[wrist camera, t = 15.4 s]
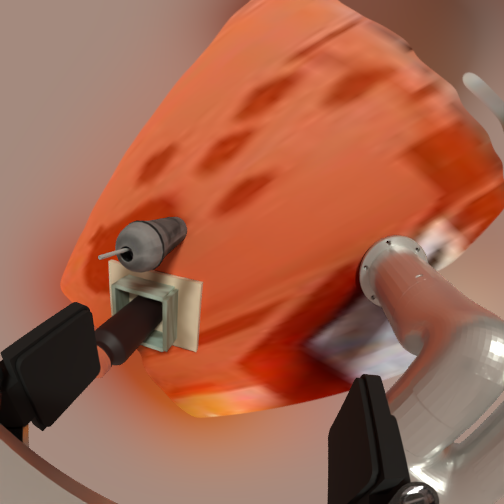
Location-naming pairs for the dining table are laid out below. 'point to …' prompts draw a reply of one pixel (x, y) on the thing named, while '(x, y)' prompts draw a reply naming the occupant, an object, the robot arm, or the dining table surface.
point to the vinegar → (126, 331)
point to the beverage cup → (147, 243)
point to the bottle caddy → (172, 297)
